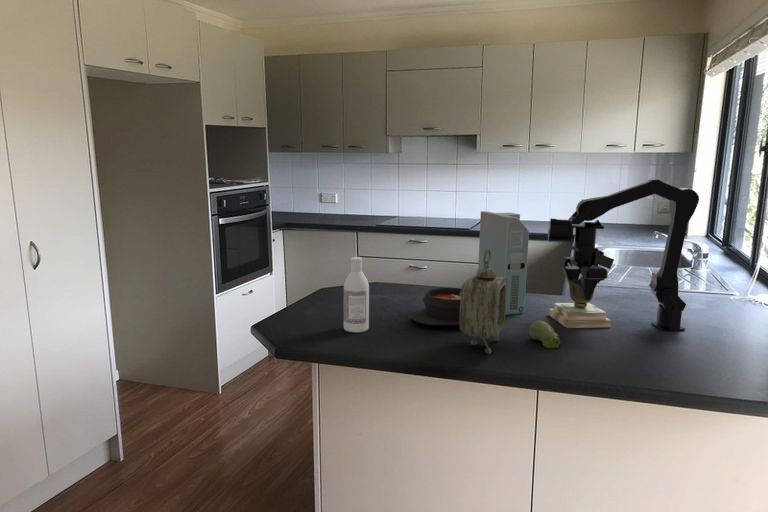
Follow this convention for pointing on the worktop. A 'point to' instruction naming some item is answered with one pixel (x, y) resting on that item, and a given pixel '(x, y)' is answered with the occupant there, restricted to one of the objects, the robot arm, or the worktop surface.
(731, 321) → the worktop surface
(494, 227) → the light blue cardboard box
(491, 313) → the tabletop clock
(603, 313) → the oak plinth
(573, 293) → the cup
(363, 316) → the bath foam
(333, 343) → the worktop surface
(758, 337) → the worktop surface
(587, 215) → the robot arm
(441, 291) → the casserole
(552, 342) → the pear
